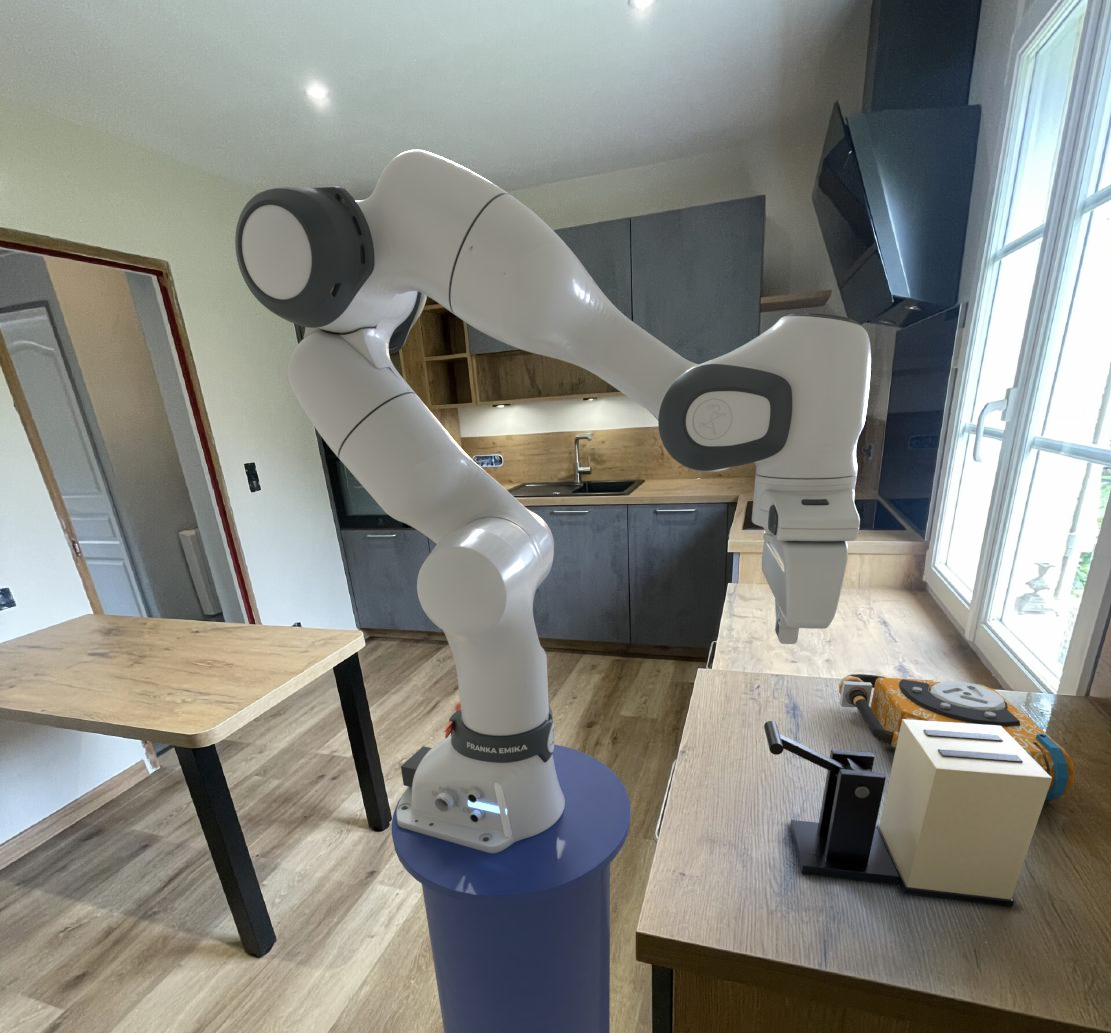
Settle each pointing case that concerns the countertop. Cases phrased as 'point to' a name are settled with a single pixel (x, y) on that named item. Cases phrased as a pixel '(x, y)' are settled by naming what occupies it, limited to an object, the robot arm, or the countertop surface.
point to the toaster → (961, 810)
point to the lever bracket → (847, 827)
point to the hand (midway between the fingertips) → (785, 639)
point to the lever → (806, 751)
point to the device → (952, 716)
